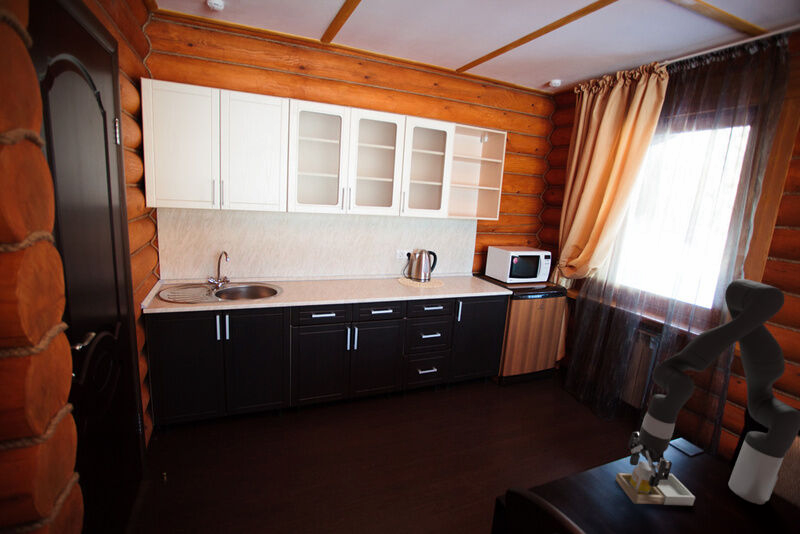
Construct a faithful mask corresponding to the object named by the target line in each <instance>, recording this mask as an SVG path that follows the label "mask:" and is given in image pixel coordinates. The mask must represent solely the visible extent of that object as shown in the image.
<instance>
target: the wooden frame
mask: <svg viewBox="0 0 800 534" xmlns="http://www.w3.org/2000/svg"><path fill="white" fill-rule="evenodd" d="M631 476H632V472H630V473H629V472H626V473H624V472H617V473H616V476H615V481H616V482H617V483H618V485H619V486H620V487H621V488H622V490H623V491H624V492H625V493H626V495H627V496H628V497H629V498H630V500H631V501H632V503H633V504H648V505H663V500H664V496H663V495H662V494H661V493H660V492H659V491H658V490H657V488H656V487H651V488H650V491H649V494H648V495H643V494H636V493H635V491H634V490H633V489H632V488H631V486H630V485H629V482H630V479H631Z"/></svg>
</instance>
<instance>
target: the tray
mask: <svg viewBox="0 0 800 534" xmlns="http://www.w3.org/2000/svg"><path fill="white" fill-rule="evenodd" d="M663 475H664V473H663ZM656 488H657V490H658V491H659V492H660V493H661V494H662V495H663V496H664V500H663V503H662V505H665V506H670V505H671V506H693V505H694V502H695V500H696V496H695V495H693V494H692V492H690V490H689V489H688V488H687V487H686V486H685V485H684V484H683V483H682V482H681V481H680V480H679V479H678V478H677V477H676V476H675V475H674V474H673V473H672V472H670V473H669V477H668V480H660V481H659V484H658V486H656Z"/></svg>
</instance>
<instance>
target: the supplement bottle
mask: <svg viewBox="0 0 800 534" xmlns="http://www.w3.org/2000/svg"><path fill="white" fill-rule="evenodd" d="M631 474H632V476H631V479H630V482H628V484H629V485H630V486H631V488H632V489H633V490H634V491H635V493H636V494H643V495H650V492H649V491H650V488H651V486H650V485H649V484H648V483H649V480H650V477H651V474H652V471H651V468H650V467H649V463H648V461H642V460H640V461H638V464H637V465H635V466H634V468H633V470H632V472H631Z"/></svg>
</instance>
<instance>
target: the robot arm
mask: <svg viewBox="0 0 800 534" xmlns="http://www.w3.org/2000/svg"><path fill="white" fill-rule="evenodd" d="M724 296H725V298H724V299H725V303H726V307H727V310H728V312H729V313H728V314H729V315H730V318H731V320H730V321H727V322H725V323H724V324H721V325H719V326H717V327H715V326H714V327H713V328H711V329H707V330H705V331H703V332H701V333H699V334H698V335H697V336H695V337H694V338H693V339H692V340H691V341H690V342H689V343H688V344H687V345H686V346H685V347H684V348H682V350H681V351H679V352H678V353H676V354H674V355H672V356H670V357H669V358H667V359H665V360H663V361H661V362H660V363H659V364H657V365H656V366H655V367H654V369H653V371H652V373H651V376H652V381H653V382H654V383H655V384H656V385H657V386H659V388H662V389H663V390H664V391H666V395H665V394H660V393H658V394H656V393H655V394H653V396H652V397H651V399H650V402H649V405H648V407H647V408H648V409H647V411H646V413H645V415H644V417H643V421H642V423H641V426H640V430H639V431H632V433H631V436H630V438H629V440H628V444H627V447H628V448H629V449H630V451H631V455H630V459H629V464H630V465H631V466H638V463H639V462H640V461H639V460H640V459H641V456H642V457H644V459H645V460H646V462H647V463H649V467H650V468H651V471H652V474H651V477H650V480H649V483H648V484H649V485H650V486H651V487H656V486H658V484H659V481H660V480H668V477H669V473H671V469H672V465H673V463H672V461H671V460H667V459H666V458H665V457H664V455H665V452H666V451H667V450H668V449H669V445H670V442H671V438H672V437H673V433H674V431H675V430H674V429H675V426H676V421H677V418H678V415H679V412H680V410H681V409H682V408H683V406H684V405H685V403H686V402H687V401H688V400H689V399H690V397H692V396H693V394H694V391H695V383H694V382H695V381H694V380H693V379H692V378H691V376H689V375H688V374H686V373H684V372H685V371H688V370H691V371H694V372H700V373H701V372H704V371H706V370H707V369H708V368H709V366H711V365H712V364H713V363H714V362H715V360H717V359H718V358H719V357H720V356H721V355H722V354H723V353H724V352H725V351H727V350H728V349H729V348H730V347H731V346H733V345H734V344H735V343H736V342H738V347H739V354H740V359H741V363H742V367H743V370H744V372H743V373H744V377H745V382H746V383H745V384H746V390H747V391H746V394H747V410H748V413H749V415H750V417H751V418H752V419H753V420H754V421H755V422H757V423H758V424H760V425H761V426H763V427H765V428H766V429H768V431H767V433H765V432H762V431H756V430H754V431H753V430H751V431H748V432H747V433H746V436H745V438H744V440H743V443H742V446H741V449H740V451H739V454H738V457H737V459H736V461H735V465H734V467H733V469H732V472H731V475H730V477H729V478H730V479H729V481H728V482H727V483H728V485H727V486H729V488H730V490H731V491H732V492H733V493H734V494H736V495H737V496H738V497H740V498H741V499H743V500H746V501H747V502H750V503H753V504H755V503H756V505H764V504H766V502H769V500H770V498H771V495H772V493H773V491H774V488H775V485H776V484H777V481H778V478H779V476H778V473H779V470H780V468H781V466H782V463H783V460H784V458H785V455H786V453H787V452H789V450H790V449H791V447H792V446H793V444H794V441H795V440H796V438H797V436H798V434H799V431H800V411H799V410H798V409H796V408H794V407H793V406H791V405H789V404H787V403H785V402H783V401H781V400H780V399H778V398H777V397H776V396H775V394H774V391H773V384H774V383H776V382H777V381H778V380H779V379H781V378H782V377H783V375H784V374H785V371H786V363H785V358H784V352H783V350H782V347H781V345H780V343H779V342H778V340H777V339H776V338H775V336H774V335H773V334H772V333H771V331H770V330H769V329H768V328H767V327H766V325H765V323H766V322H768V321H769V320H770V319H772V318H773V317H774V316H776V315H777V313H778V312H780V310H781V309H782V308H783V306H784V305H785V304H784V303H785V297H786V296H785V294H784V292H783V291H782V290H781V289H780V288H778V287H775V286H772V285H769V284H765V283H762V282H759V281H755V280H751V279H746V278H740V279H739V278H737V279H734V280H732V281H731V282H730V283H729V284H728V285H727V287H726V290H725V295H724ZM654 463H657V464H654ZM663 473H664V475H663Z"/></svg>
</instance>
